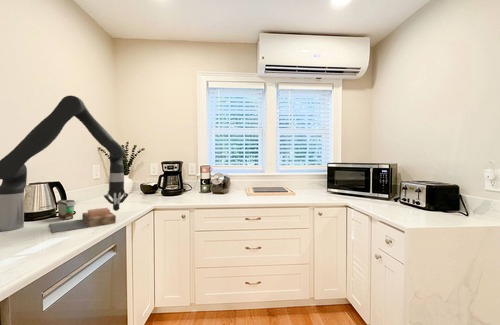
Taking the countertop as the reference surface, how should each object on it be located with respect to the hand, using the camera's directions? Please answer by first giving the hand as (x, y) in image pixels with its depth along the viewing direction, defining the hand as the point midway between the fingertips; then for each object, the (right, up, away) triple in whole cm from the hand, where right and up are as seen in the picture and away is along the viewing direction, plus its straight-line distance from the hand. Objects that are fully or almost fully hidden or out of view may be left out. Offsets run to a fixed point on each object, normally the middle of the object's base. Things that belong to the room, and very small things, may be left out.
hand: (116, 210), depth 132 cm
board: (-6, -5, -6) cm, 10 cm away
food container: (-27, -5, -1) cm, 28 cm away
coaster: (-6, -1, -6) cm, 9 cm away
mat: (-15, -5, -16) cm, 22 cm away
